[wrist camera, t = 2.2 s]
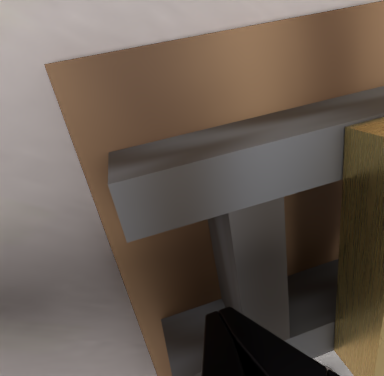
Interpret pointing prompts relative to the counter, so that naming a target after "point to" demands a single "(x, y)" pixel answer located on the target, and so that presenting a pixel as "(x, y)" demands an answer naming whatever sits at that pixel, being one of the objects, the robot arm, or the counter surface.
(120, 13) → the counter surface
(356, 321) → the bar
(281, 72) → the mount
